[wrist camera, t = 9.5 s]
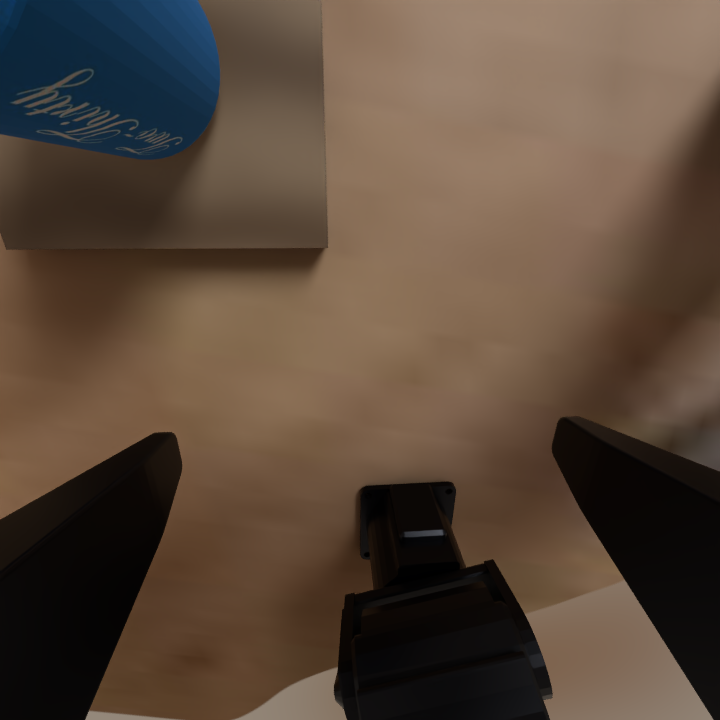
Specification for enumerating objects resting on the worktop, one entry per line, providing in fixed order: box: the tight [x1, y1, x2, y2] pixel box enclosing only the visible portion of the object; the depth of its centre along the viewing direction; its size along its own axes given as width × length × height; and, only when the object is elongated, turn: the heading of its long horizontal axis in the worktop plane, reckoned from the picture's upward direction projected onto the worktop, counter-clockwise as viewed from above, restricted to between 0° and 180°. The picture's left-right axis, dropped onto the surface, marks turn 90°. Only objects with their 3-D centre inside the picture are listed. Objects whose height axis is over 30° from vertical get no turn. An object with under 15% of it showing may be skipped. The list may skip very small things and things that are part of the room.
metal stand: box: [0, 0, 328, 250], centre depth 15 cm, size 14×14×2 cm
